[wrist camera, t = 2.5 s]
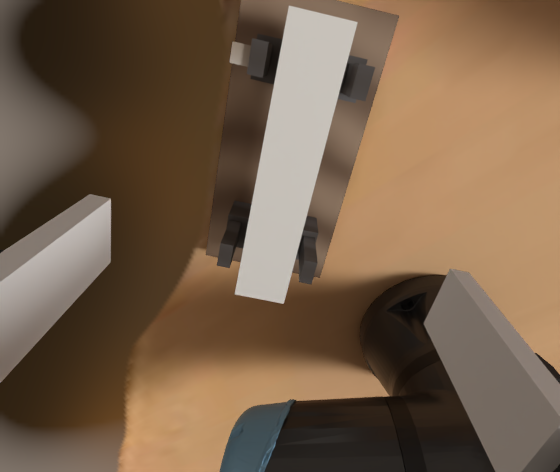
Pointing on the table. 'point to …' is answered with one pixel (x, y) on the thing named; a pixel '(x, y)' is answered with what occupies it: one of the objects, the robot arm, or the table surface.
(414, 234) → the table surface
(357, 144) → the cable cradle
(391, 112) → the table surface
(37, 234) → the robot arm
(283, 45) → the white slab
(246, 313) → the table surface
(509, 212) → the table surface
